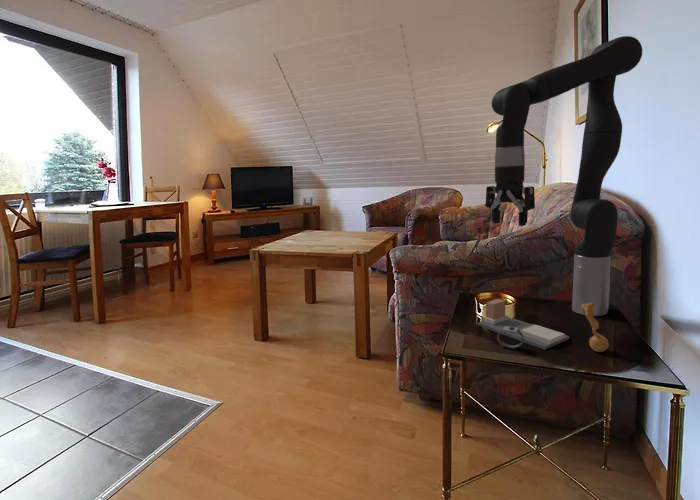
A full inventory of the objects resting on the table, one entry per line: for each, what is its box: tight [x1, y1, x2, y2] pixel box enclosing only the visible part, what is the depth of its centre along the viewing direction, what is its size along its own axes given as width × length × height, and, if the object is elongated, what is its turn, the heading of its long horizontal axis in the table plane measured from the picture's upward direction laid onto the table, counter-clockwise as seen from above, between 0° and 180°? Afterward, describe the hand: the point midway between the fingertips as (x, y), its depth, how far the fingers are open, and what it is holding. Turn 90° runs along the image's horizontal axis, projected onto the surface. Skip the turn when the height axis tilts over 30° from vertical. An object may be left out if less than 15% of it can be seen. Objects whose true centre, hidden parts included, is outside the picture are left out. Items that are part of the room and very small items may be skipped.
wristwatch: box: [496, 326, 525, 349], centre depth 107 cm, size 6×3×5 cm, turn 62°
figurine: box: [581, 302, 610, 353], centre depth 102 cm, size 8×6×12 cm
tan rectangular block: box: [482, 298, 509, 325], centre depth 123 cm, size 6×4×6 cm, turn 121°
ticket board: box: [477, 316, 570, 351], centre depth 116 cm, size 10×21×2 cm, turn 31°
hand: (508, 224), depth 119 cm, fingers open, 8 cm apart
